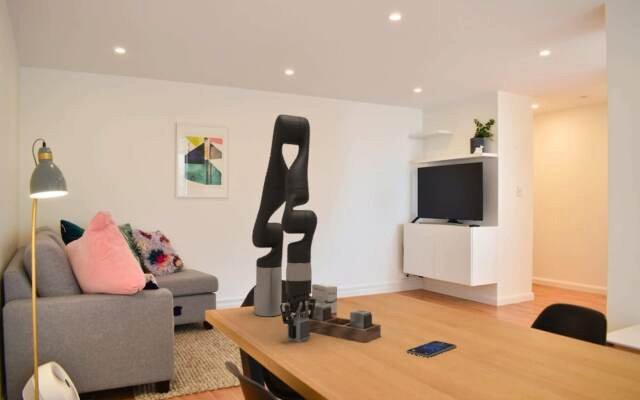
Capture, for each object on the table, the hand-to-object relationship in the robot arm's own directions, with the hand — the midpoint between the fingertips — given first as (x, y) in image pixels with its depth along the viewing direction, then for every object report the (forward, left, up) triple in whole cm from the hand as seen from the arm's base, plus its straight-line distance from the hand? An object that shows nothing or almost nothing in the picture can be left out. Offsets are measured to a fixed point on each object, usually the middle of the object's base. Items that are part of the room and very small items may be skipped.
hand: (298, 336), depth 137 cm
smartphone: (+35, +15, -2) cm, 38 cm away
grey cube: (0, 0, -1) cm, 1 cm away
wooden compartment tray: (+5, +13, -1) cm, 15 cm away
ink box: (-10, +26, -1) cm, 28 cm away
